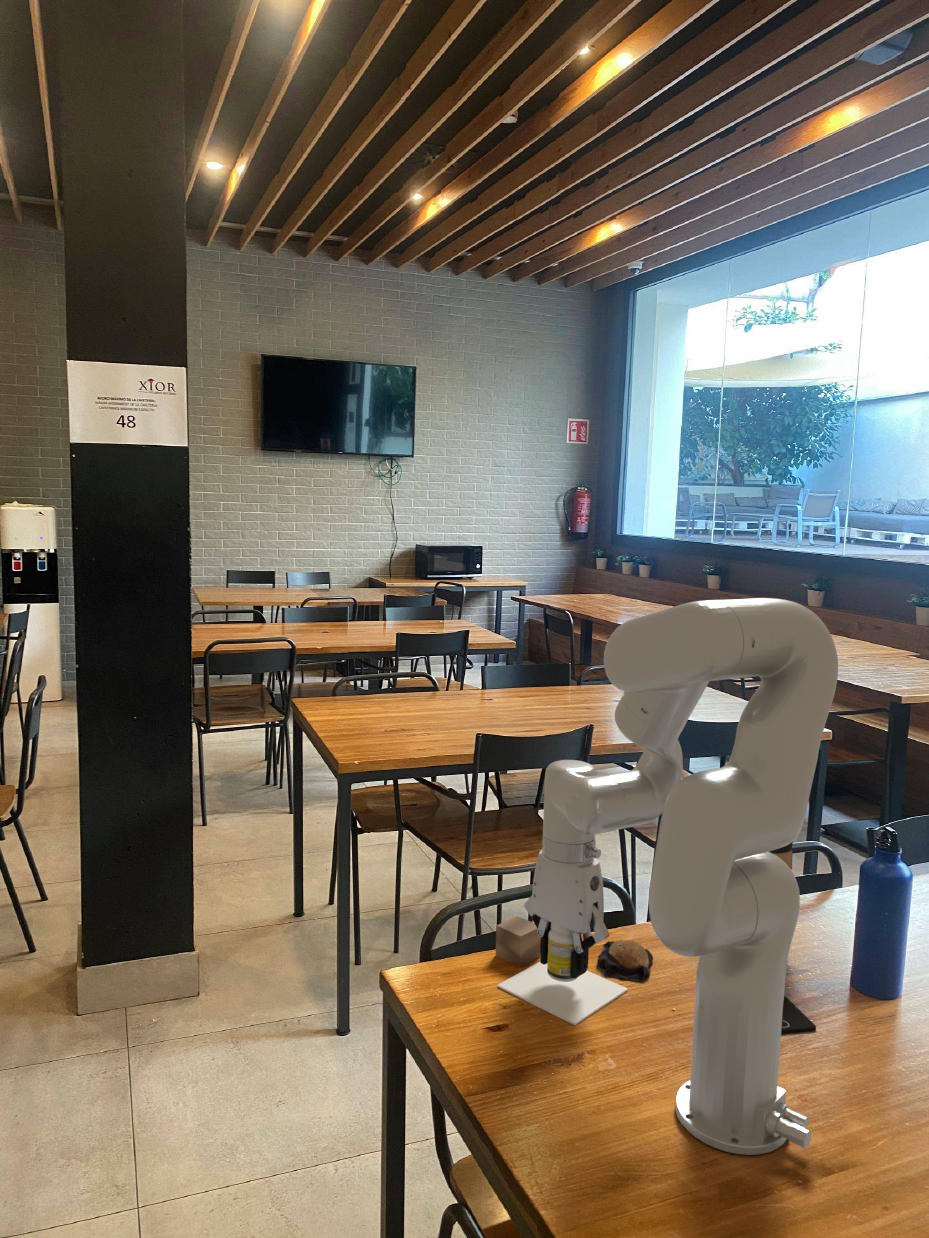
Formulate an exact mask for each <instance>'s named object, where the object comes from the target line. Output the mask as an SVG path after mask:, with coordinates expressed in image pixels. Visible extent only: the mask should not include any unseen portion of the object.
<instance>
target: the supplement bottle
mask: <svg viewBox="0 0 929 1238" xmlns="http://www.w3.org/2000/svg"><path fill="white" fill-rule="evenodd" d="M573 950H575V946H574V940H573V934H572V931H571V930H569V929H567V928H564V927H562V926H560V925H558V924H555V923H552V922H551V930H550V931H549V935H548V964H547V973H548V975H549V976H550V977H551V978H552V979H554V980H557V981H562V982H570V981H574V980H576V979H577V978H578V977H577V978H575V979H574V978H572V977H571V976H570V971H571V952H572V951H573Z"/></svg>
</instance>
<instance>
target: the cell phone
mask: <svg viewBox="0 0 929 1238" xmlns="http://www.w3.org/2000/svg"><path fill="white" fill-rule="evenodd" d="M816 1030H817V1026H816V1025H815V1023H814V1022H813V1021H812V1020H811V1019H810V1018H808V1017H807V1016H806V1015H805V1014H804V1013H803V1011H801V1010H800V1009H799V1008H798V1007H797V1005H795V1004H794V1003H793V1002H792V1001H791V1000H790V999H789V998H788V997H787V996H786V995H785V994H784V1001H783V1013H782V1028H781V1035H787V1034H789V1035H790V1034H800V1033H801V1034H802V1033H810V1032H815V1031H816Z"/></svg>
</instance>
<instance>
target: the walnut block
mask: <svg viewBox="0 0 929 1238" xmlns="http://www.w3.org/2000/svg"><path fill="white" fill-rule="evenodd" d="M495 929H496V933H495V936H496V937H495V956H496V957H498V958H500V959H502V960H504V961H506V962H508V963H510V964H513V965H515V966H516V967H518V968H521V967H523V966H525V965H526V964H528V963H531V962H532V961H534V960H536V959H538V958H540V957H541V953H540V945H541V937H540V936H539V935H538V934H537V930H538V929H537V927H536V925H535V923H534V922H532V921H530V920H528V919H525V918H523V917H521V916H518V915H516V916H514V917H512V918H510V919H508V920H505V921H503V922H501V923H499V924H497V925H496V928H495Z"/></svg>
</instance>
